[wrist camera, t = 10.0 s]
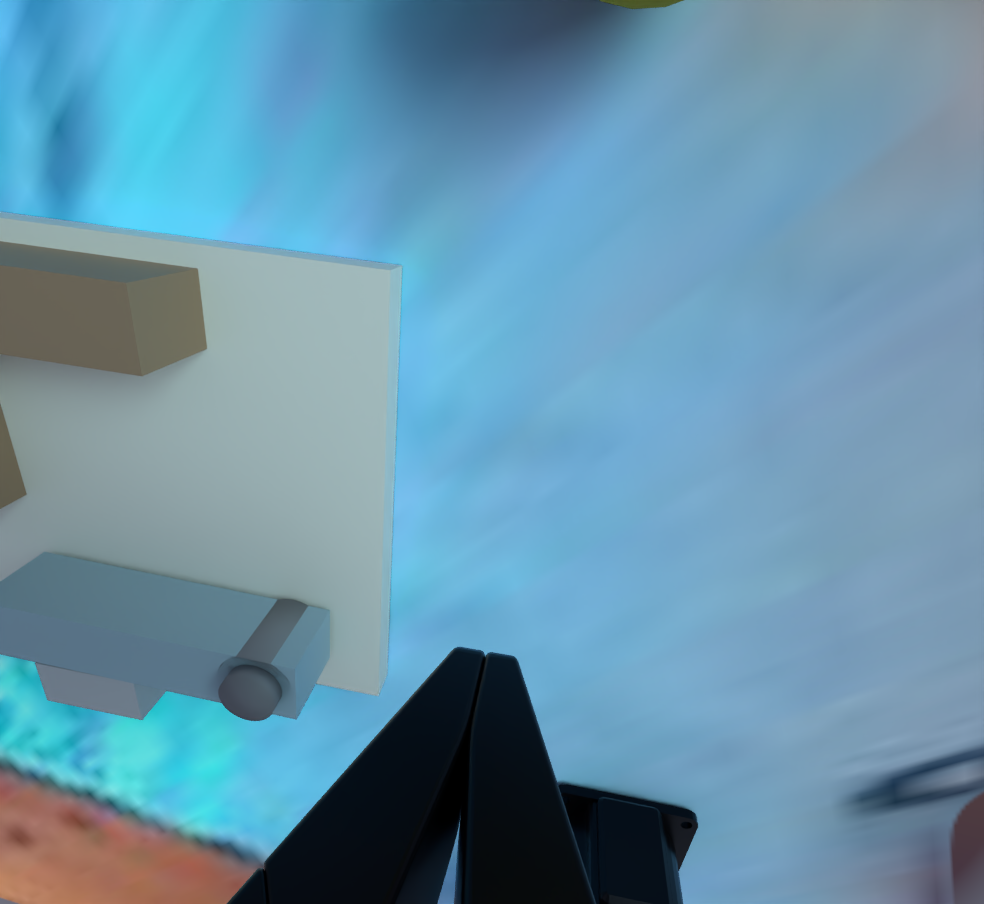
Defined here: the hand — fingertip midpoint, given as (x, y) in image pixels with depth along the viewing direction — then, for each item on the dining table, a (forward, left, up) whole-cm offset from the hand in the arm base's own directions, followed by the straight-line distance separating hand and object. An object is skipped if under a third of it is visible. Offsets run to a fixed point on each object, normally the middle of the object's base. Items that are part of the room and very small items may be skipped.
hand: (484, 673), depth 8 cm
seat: (-5, +13, -12) cm, 19 cm away
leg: (-11, +13, -11) cm, 20 cm away
